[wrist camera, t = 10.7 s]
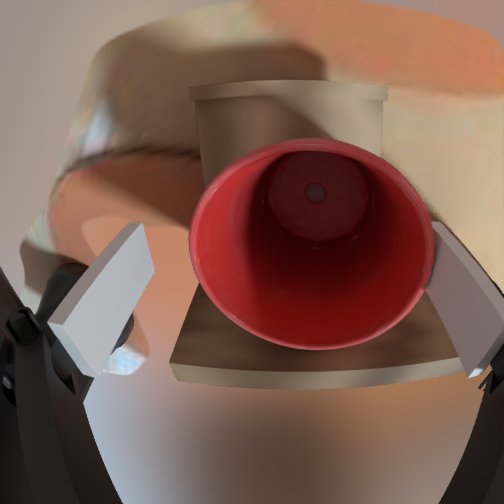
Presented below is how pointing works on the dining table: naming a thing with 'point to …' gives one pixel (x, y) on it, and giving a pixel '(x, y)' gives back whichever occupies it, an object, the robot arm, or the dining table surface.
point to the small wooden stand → (283, 116)
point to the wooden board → (311, 353)
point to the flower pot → (312, 243)
